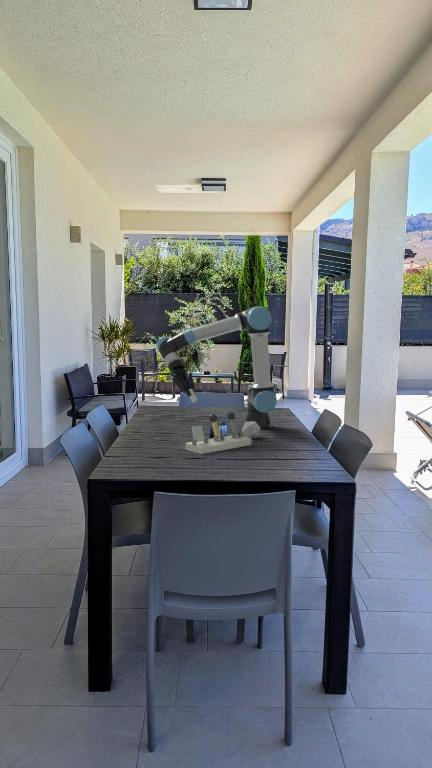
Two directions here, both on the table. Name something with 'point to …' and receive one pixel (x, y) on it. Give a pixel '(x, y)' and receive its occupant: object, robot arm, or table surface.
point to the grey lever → (232, 422)
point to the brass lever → (215, 425)
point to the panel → (218, 443)
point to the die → (251, 429)
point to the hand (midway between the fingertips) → (194, 401)
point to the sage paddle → (198, 433)
